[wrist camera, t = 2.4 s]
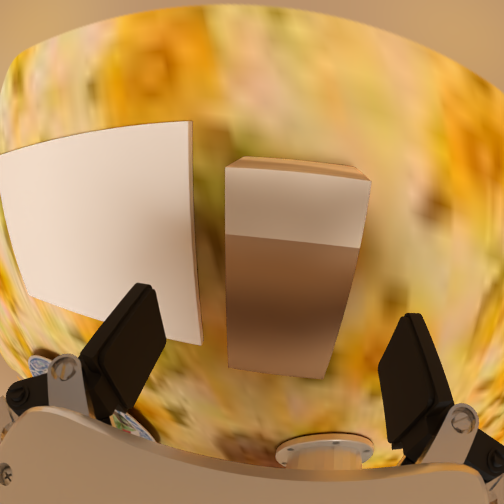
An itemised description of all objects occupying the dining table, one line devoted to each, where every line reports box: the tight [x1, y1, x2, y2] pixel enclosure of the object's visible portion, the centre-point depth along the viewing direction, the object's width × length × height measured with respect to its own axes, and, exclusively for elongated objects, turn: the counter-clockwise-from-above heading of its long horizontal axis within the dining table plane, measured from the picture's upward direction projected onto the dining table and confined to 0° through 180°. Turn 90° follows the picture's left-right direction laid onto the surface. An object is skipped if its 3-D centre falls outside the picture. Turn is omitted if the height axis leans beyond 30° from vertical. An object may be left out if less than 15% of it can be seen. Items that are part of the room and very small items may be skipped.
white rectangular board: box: [0, 121, 204, 346], centre depth 19 cm, size 16×22×1 cm
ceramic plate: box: [28, 355, 157, 443], centre depth 33 cm, size 26×26×3 cm
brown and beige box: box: [225, 156, 371, 379], centre depth 15 cm, size 12×6×4 cm, turn 178°
